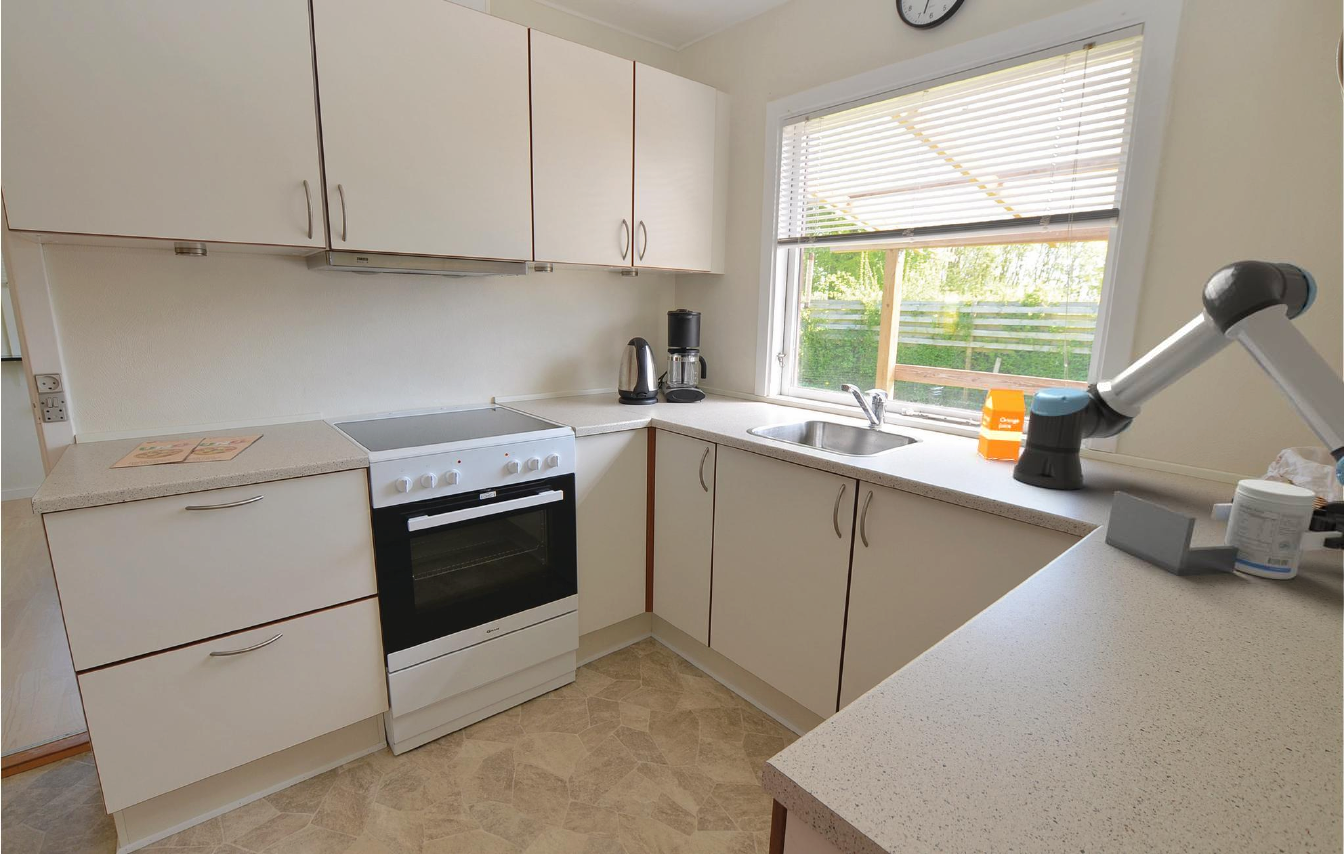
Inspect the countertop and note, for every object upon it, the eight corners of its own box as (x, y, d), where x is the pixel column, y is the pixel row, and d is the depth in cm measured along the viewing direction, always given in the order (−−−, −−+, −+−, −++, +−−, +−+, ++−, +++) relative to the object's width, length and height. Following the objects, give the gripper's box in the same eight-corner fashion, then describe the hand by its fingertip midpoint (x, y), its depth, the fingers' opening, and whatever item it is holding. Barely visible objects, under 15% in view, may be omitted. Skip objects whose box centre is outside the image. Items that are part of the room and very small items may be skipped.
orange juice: (1018, 461, 172) (1028, 392, 168) (985, 459, 173) (995, 390, 169) (1008, 454, 179) (1018, 388, 175) (976, 452, 181) (985, 387, 177)
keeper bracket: (1105, 542, 113) (1114, 491, 111) (1155, 540, 114) (1165, 490, 112) (1177, 575, 99) (1189, 518, 97) (1233, 572, 101) (1246, 516, 99)
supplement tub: (1235, 553, 109) (1253, 476, 106) (1306, 575, 101) (1329, 491, 98) (1208, 562, 105) (1226, 481, 102) (1280, 585, 96) (1302, 498, 93)
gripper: (1453, 573, 93) (1342, 580, 89) (1271, 517, 117) (1179, 520, 113) (1467, 528, 91) (1355, 532, 88) (1281, 480, 115) (1187, 482, 112)
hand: (1255, 525), depth 101 cm, fingers open, 13 cm apart
